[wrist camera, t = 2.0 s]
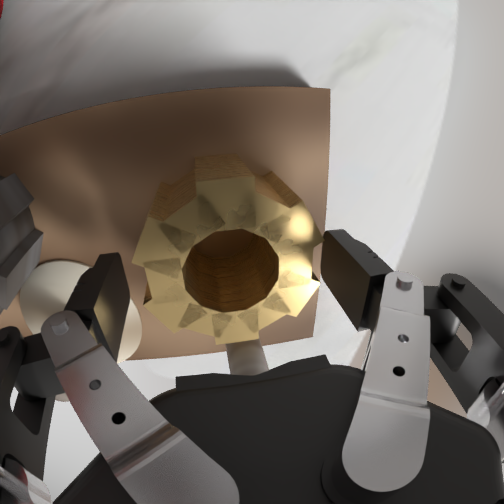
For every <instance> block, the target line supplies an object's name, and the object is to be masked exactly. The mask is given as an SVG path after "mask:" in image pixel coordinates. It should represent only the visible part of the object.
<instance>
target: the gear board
mask: <svg viewBox="0 0 504 504" xmlns="http://www.w3.org/2000/svg"><path fill="white" fill-rule="evenodd" d="M329 144H330V89H325V88H309V87H281V86H254V87H225V88H210V89H197V90H187V91H178V92H170V93H162V94H155V95H148V96H142V97H136V98H130V99H125V100H120V101H115V102H110V103H105V104H101V105H96V106H92V107H88V108H84V109H80V110H76V111H72V112H69V113H65V114H61V115H58V116H55V117H51V118H48V119H45V120H42V121H39V122H35V123H32V124H30V125H27V126H24V127H21V128H18V129H16V130H13V131H10V132H8V133H5V134H2V135H0V329H2V328H4V327H8V326H15V327H17V328H18V329H19V330H20V332H21V334H22V336H23V337H27V336H30V335H34V334H37V333H40V332H41V326H42V324H43V323H44V321H45V320H46V319H47V318H48V317H50V316H51V315H53V314H55V313H57V312H60V311H63V310H64V308H65V306H66V304H67V302H68V300H69V298H70V296H71V294H72V292H73V290H74V288H75V286H76V285H77V282H78V280H79V278H80V276H81V275H82V274H83V273H84V272H85V271H86V270H88V269H89V268H93V266H94V265H95V263H96V261H97V259H98V257H99V255H100V254H106V253H115V252H119V254H120V256H121V259H122V263H123V267H124V271H125V275H126V278H127V282H128V286H129V290H130V304H129V308H128V312H127V316H126V321H125V325H124V330H123V334H122V339H121V344H120V349H119V354H118V359H117V364H118V363H121V362H123V361H125V360H142V359H156V358H169V357H180V356H190V355H199V354H208V353H216V352H224V351H227V356H228V362H229V368H230V373H231V374H232V375H249V376H252V375H258V374H260V373H263V372H266V371H268V370H269V368H268V365H267V361H266V358H265V355H264V351H263V348H262V346H265V345H271V344H277V343H283V342H288V341H294V340H299V339H304V338H309V337H313V330H314V323H315V316H316V308H317V300H318V291H319V286H318V287H317V289H316V290H315V292H314V293H313V294H312V296H311V297H310V299H309V300H308V301H307V303H306V304H305V306H304V307H303V308H302V310H301V311H300V313H299V314H298V315H297V317H295V316H291V315H288V314H286V315H285V316H283V317H281V318H279V319H278V320H276V321H274V322H273V323H271V324H269V325H268V326H266V327H264V328H262V329H261V330H259V339H255V340H248V341H241V342H234V343H227V344H219V345H216V342H215V337H214V336H210V335H206V334H203V333H199V332H195V331H192V330H188V329H185V328H183V329H181V330H179V331H178V332H176V333H173V332H172V331H171V330H170V329H168V328H167V327H166V326H165V325H164V324H163V323H162V322H161V321H159V320H158V319H157V318H156V317H155V316H154V315H153V314H152V313H151V312H150V311H149V310H147V309H146V308H145V307H144V306H143V302H144V297H145V291H146V286H147V276H146V272H145V268H144V267H142V266H139V265H136V264H133V263H131V262H132V259H133V256H134V253H135V250H136V246H137V243H138V240H139V237H140V234H141V231H142V228H143V226H144V223H145V220H146V217H147V214H148V212H149V209H150V207H151V204H152V202H153V199H154V197H155V195H156V192H157V190H158V187H159V185H160V183H161V181H162V182H164V183H167V184H169V185H172V184H173V183H175V182H176V181H178V180H179V179H180V178H182V177H183V176H184V175H186V174H187V173H189V172H190V171H192V170H193V169H194V168H195V157H199V156H209V155H220V154H232V153H236V154H237V155H238V156H239V158H240V159H241V160H242V161H243V163H244V164H245V165H246V166H247V168H248V169H249V170H251V171H253V172H255V173H257V174H259V175H261V176H264V175H266V174H267V173H269V172H270V171H273V172H274V173H275V174H276V175H277V176H278V177H279V178H280V179H281V180H282V181H283V182H284V183H285V184H286V185H287V186H288V187H289V188H290V189H291V190H292V191H294V192H295V193H296V194H297V195H298V196H299V197H300V198H301V199H302V200H303V202H304V203H305V205H306V207H307V209H308V211H309V212H310V214H311V216H312V218H313V220H314V221H315V223H316V225H317V227H318V229H319V231H320V232H321V234H322V236H323V234H324V231H325V219H326V205H327V189H328V170H329ZM253 235H254V233H252V232H249V231H247V230H245V229H234V230H225V231H216V232H213V233H212V234H210V235H209V236H207V237H206V238H204V239H203V240H201V241H200V242H198V243H197V244H195V245H194V246H193V247H194V249H195V250H196V251H197V252H199V253H202V254H204V255H207V256H210V257H212V258H219V257H228V256H233V255H235V254H236V253H238V252H239V251H241V250H242V249H244V248H245V247H247V246H248V244H249V243H250V241H251V239H252V237H253ZM321 253H322V243H320V244H319V245H317V246H316V247H314V249H313V261H312V270H313V272H314V274H315V275H316V277H317V278H318V280H319V281H320V273H321V270H320V264H321ZM55 400H57V401H62V402H66V401H69V399H68V397H67V395H66V393H63V394H59V395H56V397H55Z"/></svg>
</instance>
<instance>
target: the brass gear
mask: <svg viewBox="0 0 504 504" xmlns="http://www.w3.org/2000/svg"><path fill="white" fill-rule="evenodd" d="M234 229H245V230H247V231H249V232H252V233H254V235H253V237H252V239H251V241H250V243H249V244H248V246H247V247H245V248H244V249H242V250H241V251H239V252H238V253H236V254H235V255H233V256H228V257H219V258H212V257H210V256H207V255H204V254H202V253H199V252H197V251H196V250H195V249H194V247H193V246H194V245H195V244H197V243H198V242H200V241H201V240H203V239H204V238H206V237H207V236H209V235H210V234H212V233H213V232H216V231H225V230H234ZM323 241H325V240H324V238H323V236H322V234H321V232H320V231H319V229H318V227H317V225H316V223H315V221H314V220H313V218H312V216H311V214H310V212H309V211H308V209H307V207H306V205H305V203H304V202H303V200H302V199H301V198H300V197H299V196H298V195H297V194H296V193H295V192H294V191H292V190H291V189H290V188H289V187H288V186H287V185H286V184H285V183H284V182H283V181H282V180H281V179H280V178H279V177H278V176H277V175H276V174H275V173H274V172H273V171H270V172H269V173H267V174H266V175H264V176H261V175H259V174H257V173H255V172H253V171H251V170H249V169H248V168H247V166H246V165H245V164H244V163H243V161H242V160H241V159H240V158H239V156H238V155H237V154H236V153H232V154H220V155H209V156H199V157H195V168H194V169H193V170H192V171H190V172H189V173H187V174H186V175H184V176H183V177H182V178H180V179H179V180H178V181H176V182H175V183H173V184H172V185H169V184H167V183H164V182H162V181H161V183H160V185H159V187H158V190H157V192H156V195H155V197H154V199H153V202H152V204H151V207H150V209H149V212H148V214H147V217H146V220H145V223H144V226H143V228H142V231H141V234H140V237H139V240H138V243H137V246H136V250H135V253H134V256H133V259H132V262H131V263H133V264H136V265H139V266H142V267H144V268H145V272H146V276H147V286H146V291H145V297H144V302H143V306H144V307H145V308H146V309H147V310H149V311H150V312H151V313H152V314H153V315H154V316H155V317H156V318H157V319H158V320H159V321H161V322H162V323H163V324H164V325H165V326H166V327H167V328H168V329H170V330H171V331H172V332H173V333H176V332H178V331H179V330H181V329H183V328H185V329H188V330H192V331H195V332H199V333H203V334H206V335H210V336H214V337H215V342H216V345H219V344H227V343H234V342H241V341H248V340H255V339H259V330H261V329H262V328H264V327H266V326H268V325H269V324H271V323H273V322H274V321H276V320H278V319H279V318H281V317H283V316H285V315H286V314H288V315H291V316H295V317H297V315H298V314H299V313H300V311H301V310H302V308H303V307H304V306H305V304H306V303H307V301H308V300H309V299H310V297H311V296H312V294H313V293H314V292H315V290H316V289H317V287H318V286H319V284H320V281H319V280H318V278H317V277H316V275H315V274H314V272H313V270H312V261H313V249H314V247H316V246H317V245H319V244H320V243H322V242H323Z"/></svg>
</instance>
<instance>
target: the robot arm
mask: <svg viewBox="0 0 504 504" xmlns="http://www.w3.org/2000/svg"><path fill="white" fill-rule="evenodd" d="M323 238H324V240H325V241H323V242H322V253H321V264H320V270H321V276H322V278H323V280H324V282H325V283H326V285H327V286H328V288H329V289H330V291H331V292H332V294H333V295H334V297H335V298H336V300H337V301H338V303H339V304H340V306H341V307H342V309H343V310H344V312H345V313H346V315H347V316H348V318H349V319H350V321H351V322H352V324H353V325H354V327H355V328H356V330H357V331H358V332H359V331H363V330H367V329H370V330H371V334H370V338H369V342H368V345H367V349H366V353H365V356H364V360H363V364H362V367H361V369H358V368H354V367H351V366H345V365H330V363H329V361H328V359H327V357H326V355H320V356H316V357H311V358H306V359H301V360H296V361H291V362H288V363H286V364H283V365H281V366H278V367H276V368H273V369H271V370H268V371H266V372H263V373H260V374H258V375H252V376H249V375H232V374H218V373H210V374H201V375H191V376H179V377H176V388H174V389H171V390H168V391H166V392H164V393H161V394H159V395H158V396H156V397H154V398H152V399H151V400H149V401H148V400H147V399H146V398H145V397H144V395H143V394H142V393H141V392H140V391H139V390H138V389H137V387H136V386H135V385H134V384H133V383H132V381H130V379H129V378H128V377H127V375H126V374H125V373H124V372H123V371H122V369H121V368H120V367H119V366H118V364H117V359H118V354H119V349H120V344H121V339H122V334H123V330H124V325H125V321H126V316H127V312H128V308H129V304H130V290H129V286H128V282H127V278H126V275H125V271H124V267H123V263H122V259H121V256H120V254H119V252H115V253H106V254H100V255H99V257H98V259H97V261H96V263H95V265H94V266H93V268H89V269H88V270H86V271H85V272H84V273H83V274H82V275H81V276H80V278H79V280H78V282H77V285H76V286H75V288H74V290H73V292H72V294H71V296H70V298H69V300H68V302H67V304H66V306H65V308H64V310H63V311H60V312H57V313H55V314H53V315H51V316H50V317H48V318H47V319H46V320H45V321H44V323H43V324H42V326H41V332H40V333H37V334H34V335H30V336H27V337H23V336H22V334H21V332H20V330H19V329H18V328H17V327H15V326H8V327H4V328H2V329H0V504H504V482H503V474H502V463H504V314H503V313H502V312H501V311H500V310H499V309H498V308H497V307H496V306H495V305H494V304H493V303H492V302H491V301H490V300H489V299H488V298H487V297H486V296H485V295H484V294H483V293H482V292H481V291H480V290H479V289H478V288H477V287H475V286H474V285H473V284H472V283H471V282H470V281H469V280H468V279H466V278H464V277H463V276H460V275H457V274H450V273H449V274H445V275H443V276H442V278H441V281H440V284H439V286H423V283H422V281H421V280H420V279H419V278H418V277H416V276H415V275H413V274H411V273H408V272H403V271H393V270H392V269H391V268H390V267H389V266H388V265H387V264H386V263H385V262H384V261H383V260H382V259H381V258H379V257H378V255H377V254H376V253H375V252H373V251H372V250H371V249H370V248H369V247H368V246H367V245H366V244H364V243H362V242H360V241H358V240H355V239H354V238H352V237H351V236H350V235H349V234H348V233H347V232H346V231H345V230H344V229H339V230H328V231H325V232H324V234H323ZM461 322H462V324H463V325H464V326H465V327H466V328H467V329H468V331H469V332H470V333H471V335H472V339H473V344H472V347H471V349H470V351H469V350H468V349H467V348H466V346H465V345H464V344H463V343H462V341H461V340H460V339H459V338H458V336H457V335H456V332H457V330H458V328H459V326H460V323H461ZM430 358H431V359H432V361H433V362H434V364H435V365H436V366H437V368H438V369H439V371H440V372H441V374H442V375H443V377H444V379H445V380H446V382H447V383H448V385H449V386H450V388H451V389H452V391H453V392H454V394H455V395H456V397H457V399H458V400H459V402H460V404H461V405H462V407H463V408H464V410H465V412H466V413H467V418H465V417H462V416H460V415H457V414H455V413H453V412H451V411H449V410H446V409H444V408H442V407H440V406H437V405H435V404H433V403H431V402H429V401H427V393H428V381H429V364H430ZM13 387H15V388H16V389H17V391H18V392H19V393H18V396H17V399H16V403H15V407H14V410H13V412H12V410H11V406H10V397H11V393H12V390H13ZM63 393H66V395H67V397H68V399H69V401H70V403H71V404H72V406H73V408H74V410H75V412H76V413H77V415H78V417H79V419H80V420H81V422H82V424H83V425H84V427H85V429H86V430H87V432H88V433H89V435H90V437H91V438H92V440H93V442H94V443H95V445H96V446H97V448H98V449H99V451H100V453H99V454H98V455H97V456H96V457H95V458H94V460H92V461H91V462H90V463H89V465H88V466H87V467H86V468H85V469H84V470H83V471H82V472H81V473H80V474H79V475H78V476H77V477H76V478H75V479H74V481H73V482H72V483H71V484H70V485H69V486H68V487H67V488H66V489H65V490H64V491H63V492H62V493H61V494H60V495H59V496H58V497H57V498H56V499H55V501H54V502H52V501H51V498H50V493H49V490H48V488H47V486H46V485H45V484H44V483H43V475H44V465H45V456H46V448H47V441H48V434H49V428H50V423H51V417H52V412H53V407H54V402H55V397H56V395H59V394H63Z"/></svg>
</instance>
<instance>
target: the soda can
mask: <svg viewBox="0 0 504 504" xmlns="http://www.w3.org/2000/svg"><path fill="white" fill-rule="evenodd" d="M2 10H3V0H0V18H1V14H2Z"/></svg>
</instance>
